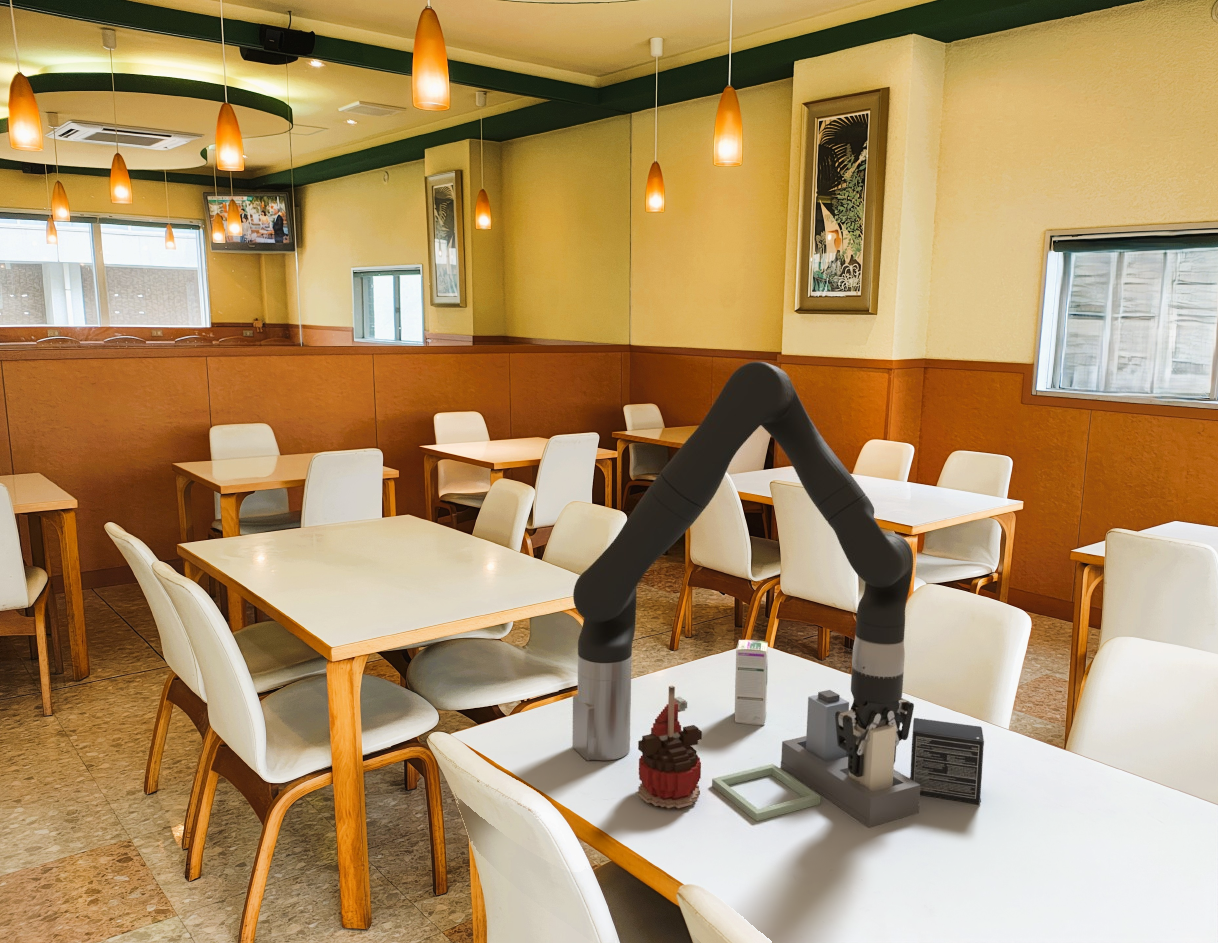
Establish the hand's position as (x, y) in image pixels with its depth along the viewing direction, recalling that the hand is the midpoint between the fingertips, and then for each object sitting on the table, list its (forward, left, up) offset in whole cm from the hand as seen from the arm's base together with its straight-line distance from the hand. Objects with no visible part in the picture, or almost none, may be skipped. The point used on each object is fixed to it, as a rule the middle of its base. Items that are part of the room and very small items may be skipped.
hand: (871, 770), depth 139 cm
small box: (+14, -2, -6) cm, 15 cm away
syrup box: (+2, +34, -6) cm, 35 cm away
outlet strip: (0, +5, -6) cm, 8 cm away
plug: (0, 0, -5) cm, 5 cm away
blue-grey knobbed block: (0, +10, -5) cm, 11 cm away
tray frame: (-13, +9, -6) cm, 17 cm away
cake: (-27, +15, -6) cm, 32 cm away
